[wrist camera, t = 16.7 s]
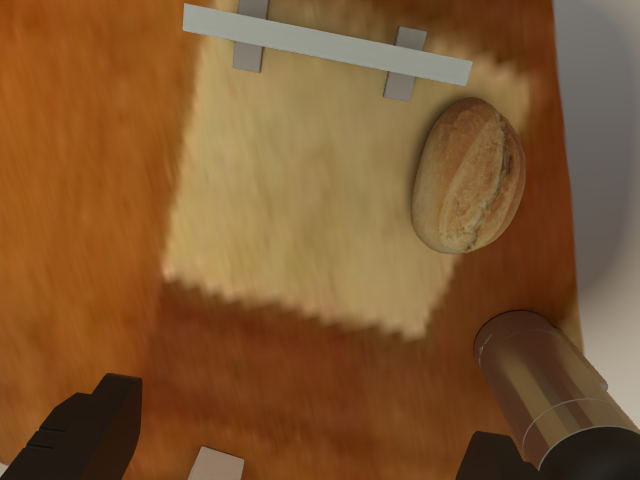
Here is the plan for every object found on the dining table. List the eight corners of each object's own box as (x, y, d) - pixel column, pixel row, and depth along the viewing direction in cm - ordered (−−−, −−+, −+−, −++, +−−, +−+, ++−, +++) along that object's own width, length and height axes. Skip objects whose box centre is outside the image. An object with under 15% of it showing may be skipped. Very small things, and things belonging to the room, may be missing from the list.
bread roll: (522, 101, 43) (563, 110, 35) (486, 247, 48) (515, 281, 41) (420, 91, 42) (440, 98, 35) (396, 239, 48) (409, 272, 40)
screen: (433, 34, 40) (484, 22, 27) (415, 103, 43) (455, 122, 30) (232, -7, 39) (187, -40, 26) (225, 65, 42) (180, 68, 29)
